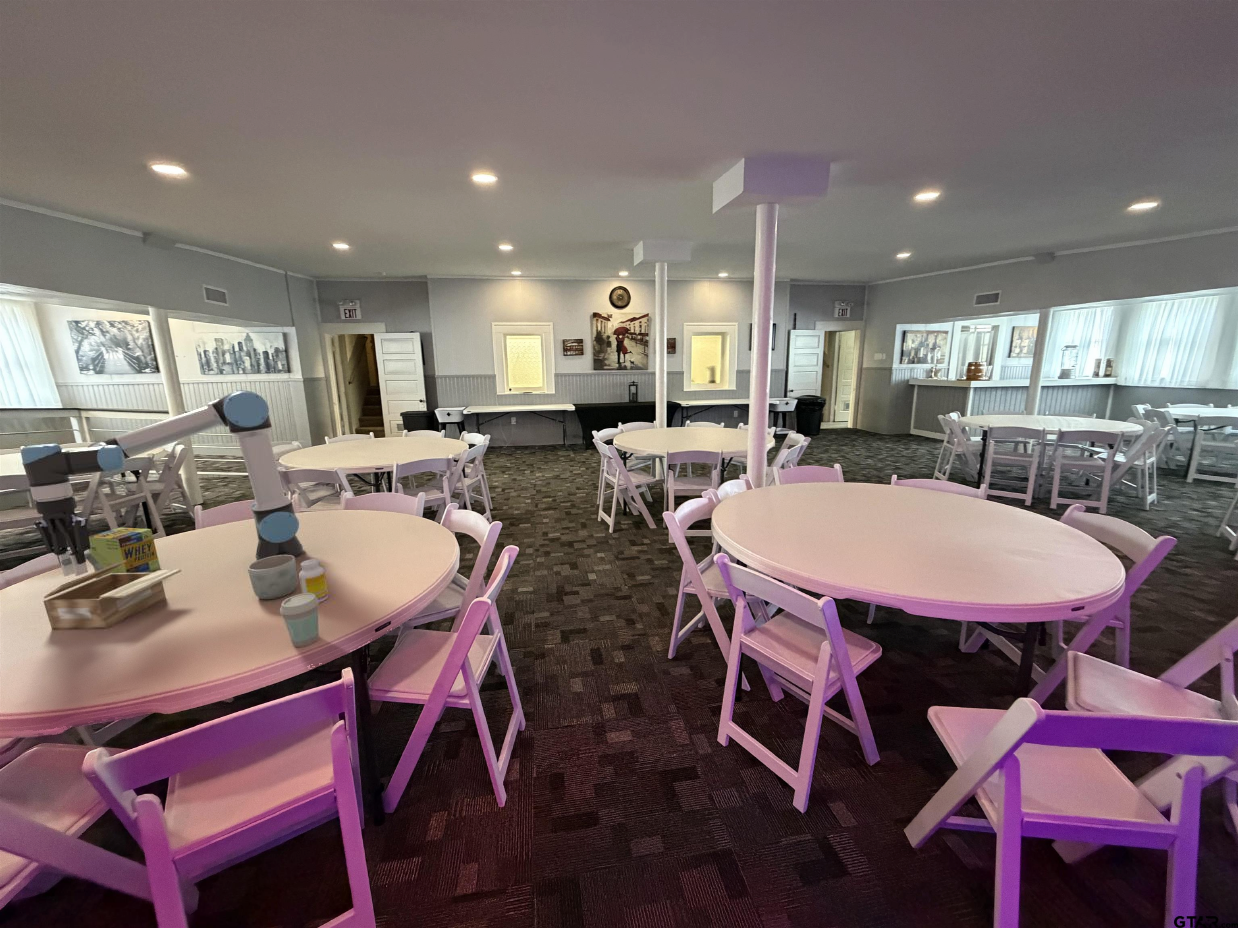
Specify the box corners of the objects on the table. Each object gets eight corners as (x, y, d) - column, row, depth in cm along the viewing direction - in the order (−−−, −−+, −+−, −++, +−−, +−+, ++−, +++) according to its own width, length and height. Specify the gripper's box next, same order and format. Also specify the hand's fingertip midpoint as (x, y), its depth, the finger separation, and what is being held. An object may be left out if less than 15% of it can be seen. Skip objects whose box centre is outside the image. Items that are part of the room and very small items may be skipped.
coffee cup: (298, 633, 131) (291, 593, 128) (330, 631, 131) (324, 591, 129) (279, 651, 122) (271, 608, 120) (314, 649, 123) (306, 606, 121)
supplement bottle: (333, 596, 152) (327, 558, 149) (314, 606, 145) (307, 567, 143) (318, 593, 154) (311, 556, 151) (298, 603, 148) (291, 564, 145)
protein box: (128, 580, 168) (117, 538, 165) (95, 577, 171) (84, 536, 168) (161, 567, 178) (152, 528, 175) (129, 565, 181) (120, 526, 178)
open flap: (44, 598, 134) (25, 577, 133) (109, 572, 151) (93, 553, 150) (62, 586, 134) (43, 565, 132) (126, 561, 151) (109, 542, 149)
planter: (264, 606, 146) (257, 573, 144) (246, 597, 153) (240, 565, 151) (307, 590, 157) (302, 559, 154) (289, 581, 163) (283, 552, 161)
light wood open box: (188, 597, 153) (182, 569, 151) (131, 628, 136) (123, 596, 134) (117, 599, 154) (109, 570, 152) (51, 629, 136) (41, 597, 134)
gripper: (95, 493, 140) (115, 567, 145) (43, 495, 141) (64, 569, 145) (66, 500, 133) (88, 578, 138) (11, 502, 133) (35, 580, 138)
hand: (76, 573), depth 142 cm, fingers open, 3 cm apart
